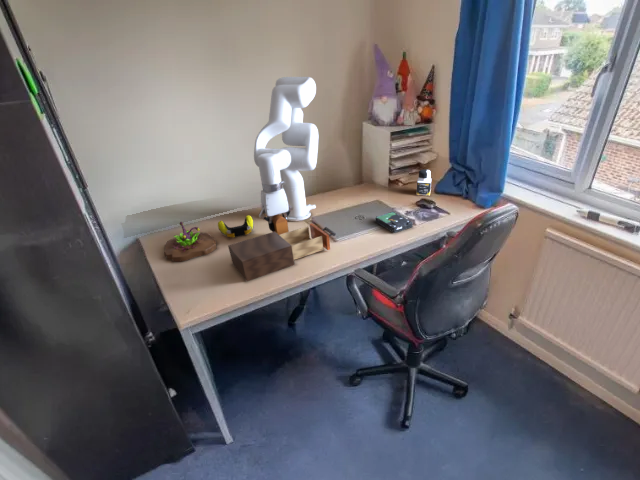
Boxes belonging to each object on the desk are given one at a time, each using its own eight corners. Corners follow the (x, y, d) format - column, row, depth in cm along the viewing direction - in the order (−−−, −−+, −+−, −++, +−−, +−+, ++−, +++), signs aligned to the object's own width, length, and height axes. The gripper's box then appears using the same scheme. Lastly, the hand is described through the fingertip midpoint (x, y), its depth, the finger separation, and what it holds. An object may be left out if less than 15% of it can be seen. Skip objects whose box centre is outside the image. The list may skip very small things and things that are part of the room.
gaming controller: (219, 231, 169) (222, 241, 162) (216, 220, 166) (219, 229, 159) (253, 224, 174) (257, 233, 167) (250, 213, 171) (255, 221, 164)
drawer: (323, 233, 163) (322, 220, 159) (340, 245, 154) (339, 231, 150) (275, 249, 153) (272, 235, 149) (290, 263, 143) (287, 248, 140)
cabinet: (278, 249, 154) (274, 231, 149) (294, 264, 144) (291, 245, 139) (232, 264, 145) (227, 245, 141) (246, 281, 135) (242, 261, 131)
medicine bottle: (416, 195, 200) (417, 172, 193) (417, 190, 206) (418, 168, 199) (429, 195, 199) (431, 172, 192) (430, 190, 205) (432, 168, 198)
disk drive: (412, 228, 169) (392, 216, 179) (413, 222, 167) (393, 210, 177) (394, 234, 164) (374, 221, 174) (394, 228, 162) (374, 216, 172)
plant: (209, 233, 168) (202, 209, 162) (221, 251, 154) (214, 225, 148) (160, 245, 159) (151, 221, 153) (168, 265, 146) (159, 239, 139)
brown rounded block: (280, 226, 165) (278, 210, 161) (288, 233, 160) (286, 216, 156) (270, 229, 163) (267, 213, 159) (277, 236, 157) (275, 219, 153)
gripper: (287, 179, 157) (293, 220, 167) (247, 188, 149) (256, 231, 159) (295, 184, 152) (301, 226, 162) (255, 193, 144) (263, 237, 154)
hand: (278, 228), depth 160 cm, fingers closed on brown rounded block, 5 cm apart
